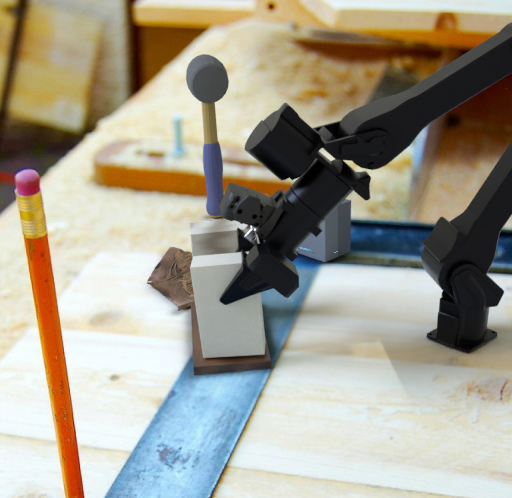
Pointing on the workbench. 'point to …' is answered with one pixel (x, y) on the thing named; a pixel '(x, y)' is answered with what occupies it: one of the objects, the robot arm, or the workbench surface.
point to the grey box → (331, 235)
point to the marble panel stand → (203, 243)
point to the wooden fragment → (174, 277)
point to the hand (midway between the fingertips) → (221, 295)
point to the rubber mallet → (209, 121)
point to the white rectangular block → (225, 309)
